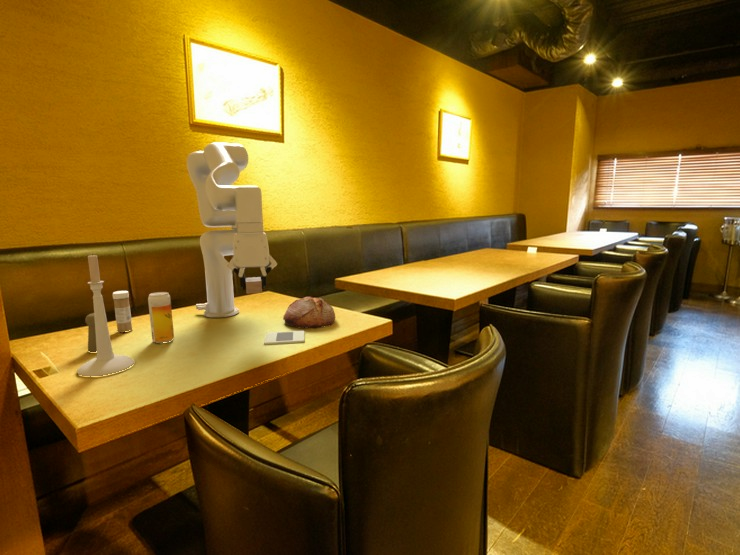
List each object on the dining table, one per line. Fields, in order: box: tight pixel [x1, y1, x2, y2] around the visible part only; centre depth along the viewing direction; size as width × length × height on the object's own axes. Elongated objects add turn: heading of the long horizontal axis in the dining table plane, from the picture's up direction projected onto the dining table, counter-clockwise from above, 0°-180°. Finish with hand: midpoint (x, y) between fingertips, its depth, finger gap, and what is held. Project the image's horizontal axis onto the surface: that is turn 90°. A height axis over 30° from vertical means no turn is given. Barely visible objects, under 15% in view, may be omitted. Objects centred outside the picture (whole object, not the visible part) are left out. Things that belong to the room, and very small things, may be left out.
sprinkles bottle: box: [112, 290, 133, 333], centre depth 141 cm, size 5×5×13 cm
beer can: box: [147, 291, 175, 344], centre depth 131 cm, size 6×6×15 cm
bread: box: [283, 296, 336, 329], centre depth 150 cm, size 16×20×10 cm
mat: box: [263, 330, 305, 346], centre depth 133 cm, size 12×10×1 cm
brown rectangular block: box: [245, 276, 263, 295], centre depth 129 cm, size 7×4×4 cm, turn 17°
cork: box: [85, 312, 108, 352], centre depth 124 cm, size 6×6×11 cm
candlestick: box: [76, 253, 136, 377], centre depth 109 cm, size 13×13×30 cm
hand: (253, 288), depth 129 cm, fingers closed on brown rectangular block, 4 cm apart
